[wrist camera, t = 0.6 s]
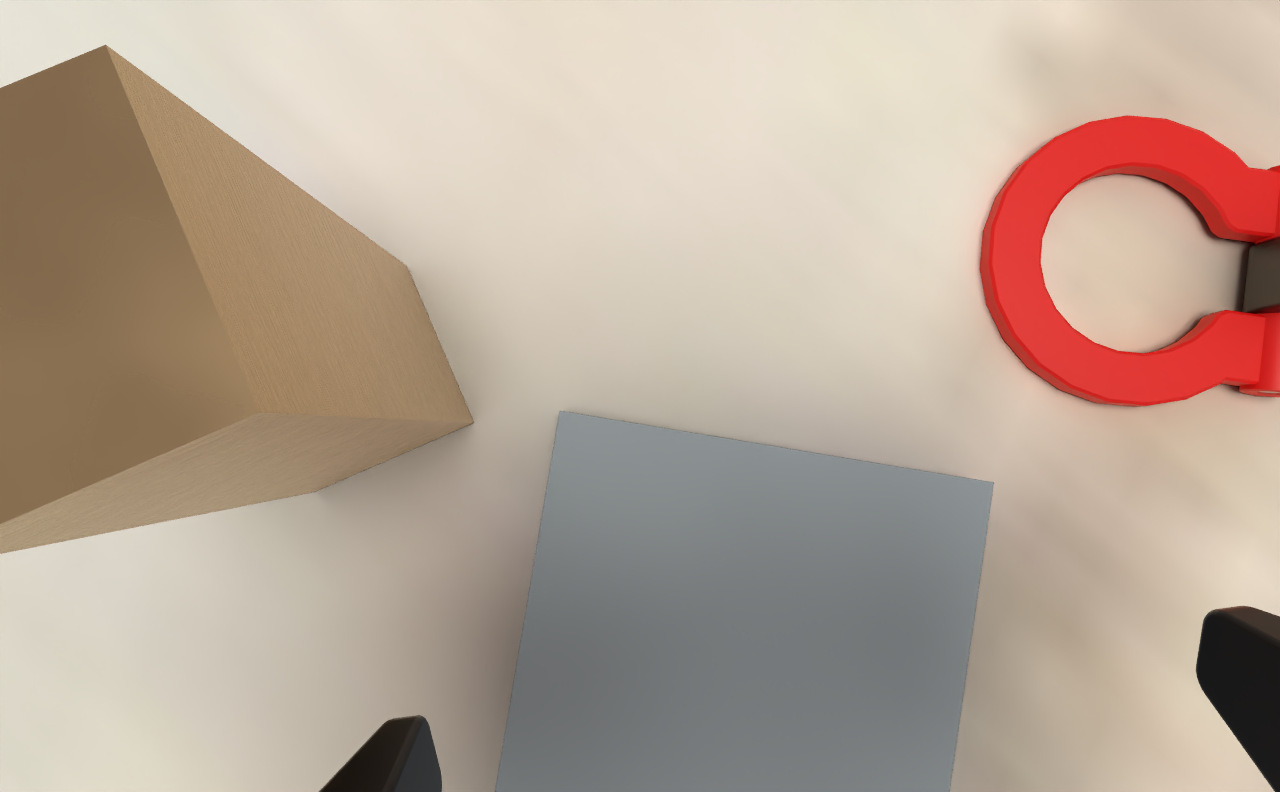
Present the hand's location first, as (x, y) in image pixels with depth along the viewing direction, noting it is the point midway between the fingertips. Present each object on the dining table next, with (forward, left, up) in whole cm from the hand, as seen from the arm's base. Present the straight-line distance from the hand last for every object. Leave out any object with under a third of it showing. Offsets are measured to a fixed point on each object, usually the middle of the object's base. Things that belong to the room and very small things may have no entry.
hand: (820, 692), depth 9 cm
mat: (-4, -1, -14) cm, 14 cm away
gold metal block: (+3, +11, -14) cm, 17 cm away
